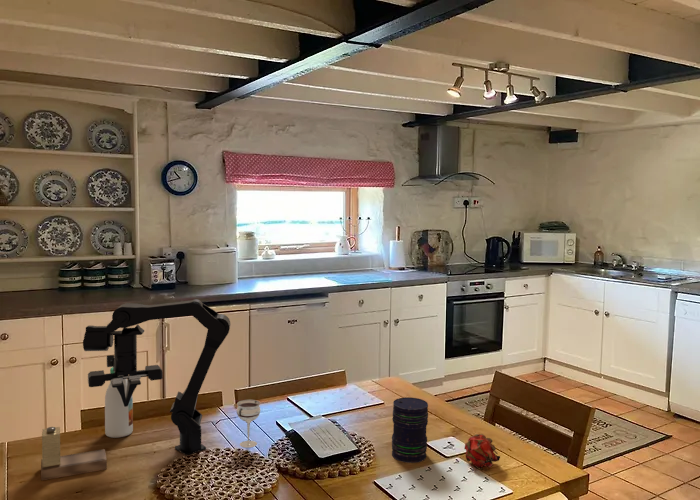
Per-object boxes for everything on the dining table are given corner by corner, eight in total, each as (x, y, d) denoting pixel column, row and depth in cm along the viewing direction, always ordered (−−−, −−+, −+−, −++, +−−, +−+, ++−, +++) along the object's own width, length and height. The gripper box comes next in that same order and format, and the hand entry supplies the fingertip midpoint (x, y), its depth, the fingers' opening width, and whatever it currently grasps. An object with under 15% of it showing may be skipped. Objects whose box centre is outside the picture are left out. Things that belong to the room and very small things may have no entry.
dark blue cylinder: (429, 451, 165) (431, 399, 164) (422, 465, 156) (424, 411, 154) (396, 445, 168) (397, 395, 167) (387, 459, 159) (388, 406, 158)
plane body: (104, 458, 156) (104, 449, 155) (106, 469, 149) (106, 459, 149) (41, 468, 149) (41, 459, 149) (41, 480, 143) (40, 470, 142)
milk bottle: (123, 439, 168) (122, 372, 166) (99, 436, 169) (98, 370, 168) (138, 429, 175) (137, 365, 174) (115, 427, 177) (114, 363, 175)
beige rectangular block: (60, 456, 150) (59, 423, 149) (60, 464, 145) (59, 430, 144) (42, 459, 148) (42, 426, 147) (42, 467, 143) (41, 433, 143)
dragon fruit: (473, 459, 164) (490, 485, 152) (452, 444, 162) (466, 469, 150) (492, 436, 163) (510, 461, 152) (471, 421, 161) (487, 445, 149)
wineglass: (264, 442, 168) (265, 401, 167) (251, 450, 162) (251, 409, 161) (245, 437, 171) (245, 398, 170) (231, 446, 165) (231, 405, 164)
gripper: (156, 340, 169) (156, 393, 170) (86, 346, 160) (87, 401, 161) (162, 349, 159) (162, 405, 160) (88, 356, 150) (89, 414, 152)
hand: (125, 406), depth 159 cm, fingers closed
